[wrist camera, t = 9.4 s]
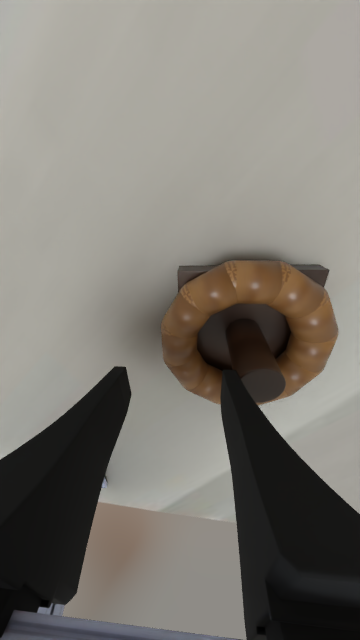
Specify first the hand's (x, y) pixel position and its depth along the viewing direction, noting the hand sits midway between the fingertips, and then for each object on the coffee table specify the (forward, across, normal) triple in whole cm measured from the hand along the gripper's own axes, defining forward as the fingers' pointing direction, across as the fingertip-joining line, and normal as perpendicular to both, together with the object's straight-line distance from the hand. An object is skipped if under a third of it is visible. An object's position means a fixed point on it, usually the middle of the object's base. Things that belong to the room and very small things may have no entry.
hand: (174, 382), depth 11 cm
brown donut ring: (+4, -4, 0) cm, 6 cm away
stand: (+6, -4, 0) cm, 7 cm away
